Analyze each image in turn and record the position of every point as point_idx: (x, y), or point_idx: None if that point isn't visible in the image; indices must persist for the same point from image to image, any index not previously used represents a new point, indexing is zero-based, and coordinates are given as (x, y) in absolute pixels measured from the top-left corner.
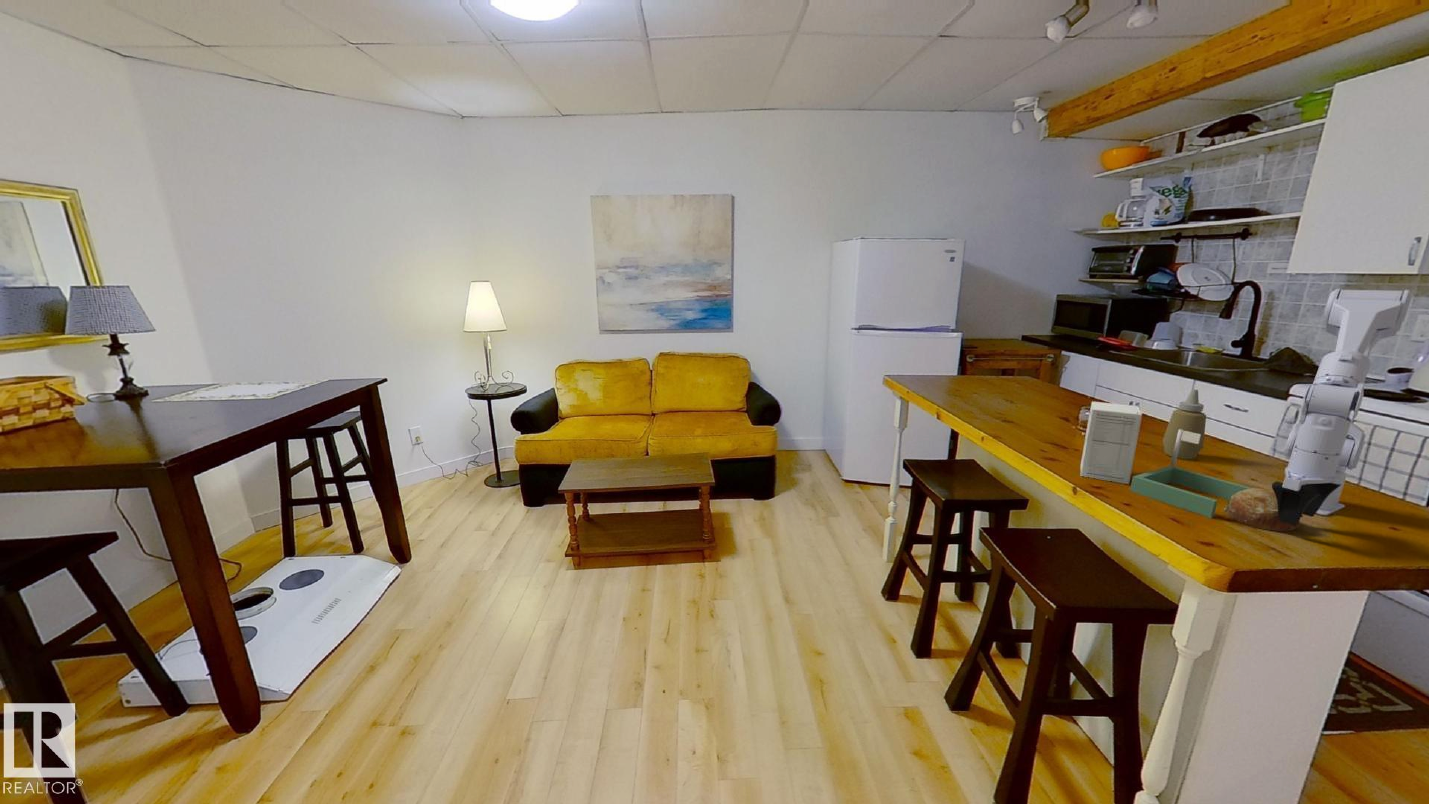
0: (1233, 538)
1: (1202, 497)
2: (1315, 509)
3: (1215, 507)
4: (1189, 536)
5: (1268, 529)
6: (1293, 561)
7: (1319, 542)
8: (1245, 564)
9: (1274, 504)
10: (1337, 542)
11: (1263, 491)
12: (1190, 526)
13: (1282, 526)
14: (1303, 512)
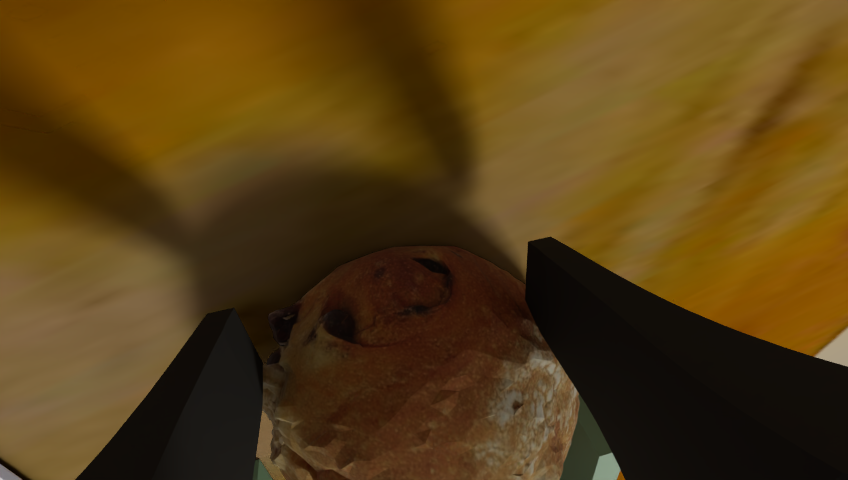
0: (751, 237)
1: (615, 474)
2: (216, 357)
3: (586, 419)
4: (842, 276)
5: (505, 271)
6: None
7: (432, 100)
8: None
9: (533, 411)
10: (298, 59)
11: None
12: (734, 329)
13: (479, 267)
14: (251, 353)
